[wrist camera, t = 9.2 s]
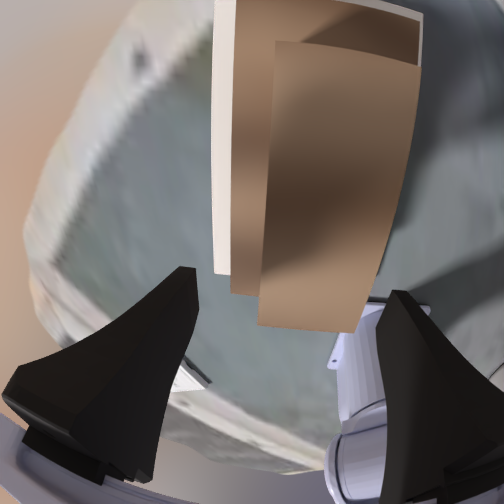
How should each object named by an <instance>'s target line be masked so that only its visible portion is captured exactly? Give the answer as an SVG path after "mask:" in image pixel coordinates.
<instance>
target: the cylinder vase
mask: <svg viewBox="0 0 504 504" xmlns="http://www.w3.org/2000/svg"><path fill="white" fill-rule="evenodd" d="M489 381H490V382H491V383H493V384H494V385H495V386H496V387H498V388H499V389H500V390H502V391H503V392H504V364H503V365H502V366H501V367H500V368H499V369H497V370H496V372H495V373H494V374H493V375H492V376H491V377H490V379H489Z"/></svg>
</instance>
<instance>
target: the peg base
mask: <svg viewBox="0 0 504 504" xmlns="http://www.w3.org/2000/svg"><path fill="white" fill-rule="evenodd" d="M336 1H342V2H348V3H353V4H358V5H363V6H367V7H371V8H376V9H380V10H384V11H387V12H391V13H394V14H398V15H401V16H405V17H408V18H411V19H414V20H417V21H420V36H419V54H418V66H419V67H421V56H422V38H423V13H420V12H417V11H414V10H411V9H408V8H405V7H402V6H398V5H395V4H391V3H388V2H384V1H380V0H336ZM235 14H236V0H215V9H214V30H213V58H212V108H211V165H212V218H213V249H214V273H215V274H224V275H230V206H231V132H232V92H233V61H234V36H235Z"/></svg>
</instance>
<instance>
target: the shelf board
mask: <svg viewBox="0 0 504 504" xmlns="http://www.w3.org/2000/svg"><path fill="white" fill-rule="evenodd" d="M419 36H420V21H417V20H414V19H411V18H408V17H405V16H401V15H398V14H394V13H391V12H387V11H384V10H380V9H376V8H371V7H367V6H363V5H358V4H353V3H348V2H342V1H336V0H236V14H235V36H234V61H233V92H232V132H231V206H230V279H231V293H232V294H240V295H249V296H258V297H259V308H258V321H257V325H259V326H268V327H278V328H288V329H298V330H310V331H323V332H337V333H355V330H356V328H357V325H358V323H359V320H360V318H361V315H362V313H363V310H364V308H365V305H366V302H367V300H368V297H369V294H370V291H371V289H372V286H373V283H374V280H375V277H376V274H377V272H378V269H379V266H380V263H381V260H382V256H383V253H384V250H385V247H386V244H387V240H388V237H389V234H390V230H391V227H392V223H393V220H394V216H395V212H396V209H397V205H398V201H399V197H400V193H401V189H402V185H403V180H404V176H405V171H406V167H407V162H408V157H409V152H410V147H411V142H412V136H413V131H414V125H415V118H416V112H417V104H418V97H419V89H420V79H421V69H422V67H419V66H418V54H419Z"/></svg>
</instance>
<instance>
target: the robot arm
mask: <svg viewBox="0 0 504 504" xmlns="http://www.w3.org/2000/svg"><path fill="white" fill-rule="evenodd" d="M198 312H199V301H198V290H197V278H196V268H190V267H183V266H179V267H178V268H177V269H176V270H175V271H173V272H172V273H171V274H170V275H169V276H168V277H167V278H165V279H164V280H163V281H162V282H161V283H160V284H159V285H158V286H156V287H155V288H154V289H153V290H152V291H151V292H149V293H148V294H147V295H146V296H145V297H144V298H142V299H141V300H140V301H139V302H138V303H136V304H135V305H134V306H132V307H131V308H130V309H129V310H127V311H126V312H125V313H123V314H122V315H121V316H120V317H118V318H117V319H115V320H114V321H112V322H111V323H109V324H108V325H106V326H105V327H103V328H102V329H100V330H99V331H97V332H95V333H93V334H92V335H90V336H88V337H86V338H84V339H83V340H81V341H79V342H77V343H75V344H73V345H71V346H69V347H67V348H65V349H63V350H61V351H59V352H56V353H54V354H51V355H49V356H47V357H44V358H41V359H39V360H35V361H33V362H30V363H27V364H24V365H20V366H18V368H17V369H16V371H15V372H14V374H13V376H12V377H11V379H10V381H9V382H8V384H7V386H6V388H5V389H4V391H3V393H2V398H3V400H4V402H5V403H6V404H7V405H8V406H9V407H10V408H11V409H12V410H13V411H14V412H15V413H16V414H17V415H19V416H20V417H21V418H22V419H23V420H24V421H25V422H26V423H28V425H29V427H28V429H27V431H26V430H25V429H23V428H22V427H21V426H19V425H18V424H16V423H15V422H13V421H12V420H10V419H9V418H8V417H6V416H4V415H3V414H2V413H0V486H1V487H2V488H3V489H5V490H6V491H7V492H8V493H9V494H10V495H11V496H12V497H14V498H15V499H16V500H17V501H18V502H19V503H20V504H198V503H193V502H189V501H184V500H180V499H177V498H173V497H169V496H165V495H162V494H159V493H155V492H152V491H149V490H146V489H143V488H139V487H137V486H134V485H131V484H128V483H125V482H123V481H124V479H125V480H128V481H130V482H134V481H137V482H140V483H143V484H144V483H147V482H150V481H151V480H152V479H153V471H154V464H155V458H156V452H157V447H158V442H159V436H160V431H161V427H162V423H163V418H164V414H165V410H166V406H167V402H168V398H169V394H170V391H171V388H172V385H173V382H174V379H175V377H176V374H177V372H178V369H179V367H180V364H181V362H182V359H183V357H184V354H185V352H186V349H187V347H188V344H189V342H190V339H191V337H192V334H193V331H194V327H195V324H196V320H197V316H198ZM430 312H431V309H430V307H429V306H425V305H419V304H418V303H417V302H416V301H415V300H414V299H413V297H412V296H411V295H410V294H409V293H408V292H407V291H402V290H392V291H391V294H390V296H389V298H388V301H387V303H375V302H366V305H365V308H364V310H363V313H362V315H361V318H360V320H359V323H358V325H357V328H356V330H355V333H339V335H338V338H337V341H336V343H335V346H334V349H333V351H332V354H331V356H330V359H329V361H328V364H327V367H328V368H329V369H337V385H338V406H339V418H340V421H341V423H342V433H339V434H336V435H335V436H334V437H333V439H332V440H331V442H330V444H329V446H328V448H327V451H326V454H325V461H324V473H325V480H326V485H327V488H328V490H329V492H330V494H331V496H332V497H333V499H334V501H335V503H336V504H504V392H503V391H502V390H500V389H499V388H498V387H496V386H495V385H494V384H493V383H491V382H490V381H489V380H488V379H487V378H486V377H484V376H483V375H482V374H481V373H480V372H479V371H478V370H477V369H476V368H474V367H473V366H472V365H471V364H470V363H469V362H468V361H467V360H466V359H465V358H464V357H463V356H462V354H461V353H460V352H459V351H458V350H457V349H456V348H455V347H454V346H453V345H452V344H451V342H450V341H449V340H448V339H447V338H446V337H445V336H444V334H443V333H442V332H441V331H440V330H439V328H438V327H437V326H436V325H435V324H434V322H433V321H432V320H431V319H430V318H429V314H430Z"/></svg>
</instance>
